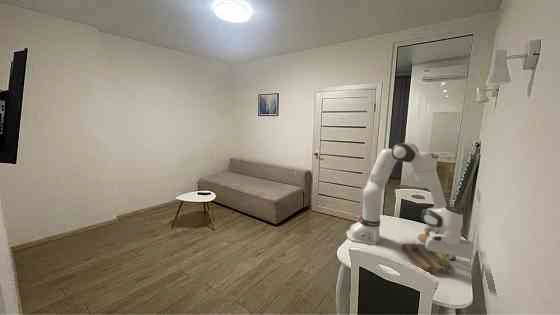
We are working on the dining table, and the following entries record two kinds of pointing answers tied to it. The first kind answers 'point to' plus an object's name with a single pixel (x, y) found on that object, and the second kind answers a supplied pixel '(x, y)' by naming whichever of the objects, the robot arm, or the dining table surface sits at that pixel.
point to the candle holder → (424, 236)
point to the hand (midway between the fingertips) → (446, 261)
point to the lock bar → (441, 259)
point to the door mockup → (426, 259)
